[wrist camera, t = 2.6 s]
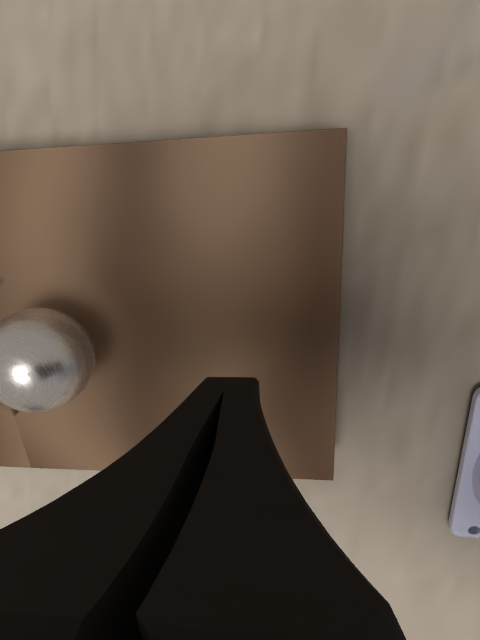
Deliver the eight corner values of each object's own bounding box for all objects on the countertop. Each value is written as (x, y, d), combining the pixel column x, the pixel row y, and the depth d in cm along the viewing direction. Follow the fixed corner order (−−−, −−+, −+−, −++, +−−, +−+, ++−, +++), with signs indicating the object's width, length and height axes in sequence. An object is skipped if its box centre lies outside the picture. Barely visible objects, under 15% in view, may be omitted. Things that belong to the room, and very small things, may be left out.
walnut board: (339, 128, 13) (346, 127, 12) (329, 446, 19) (333, 480, 17) (-170, 162, 16) (-230, 166, 14) (-55, 434, 21) (-88, 462, 19)
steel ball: (101, 291, 15) (48, 335, 11) (118, 377, 16) (75, 437, 13) (10, 293, 15) (-66, 335, 12) (34, 376, 16) (-27, 433, 13)
